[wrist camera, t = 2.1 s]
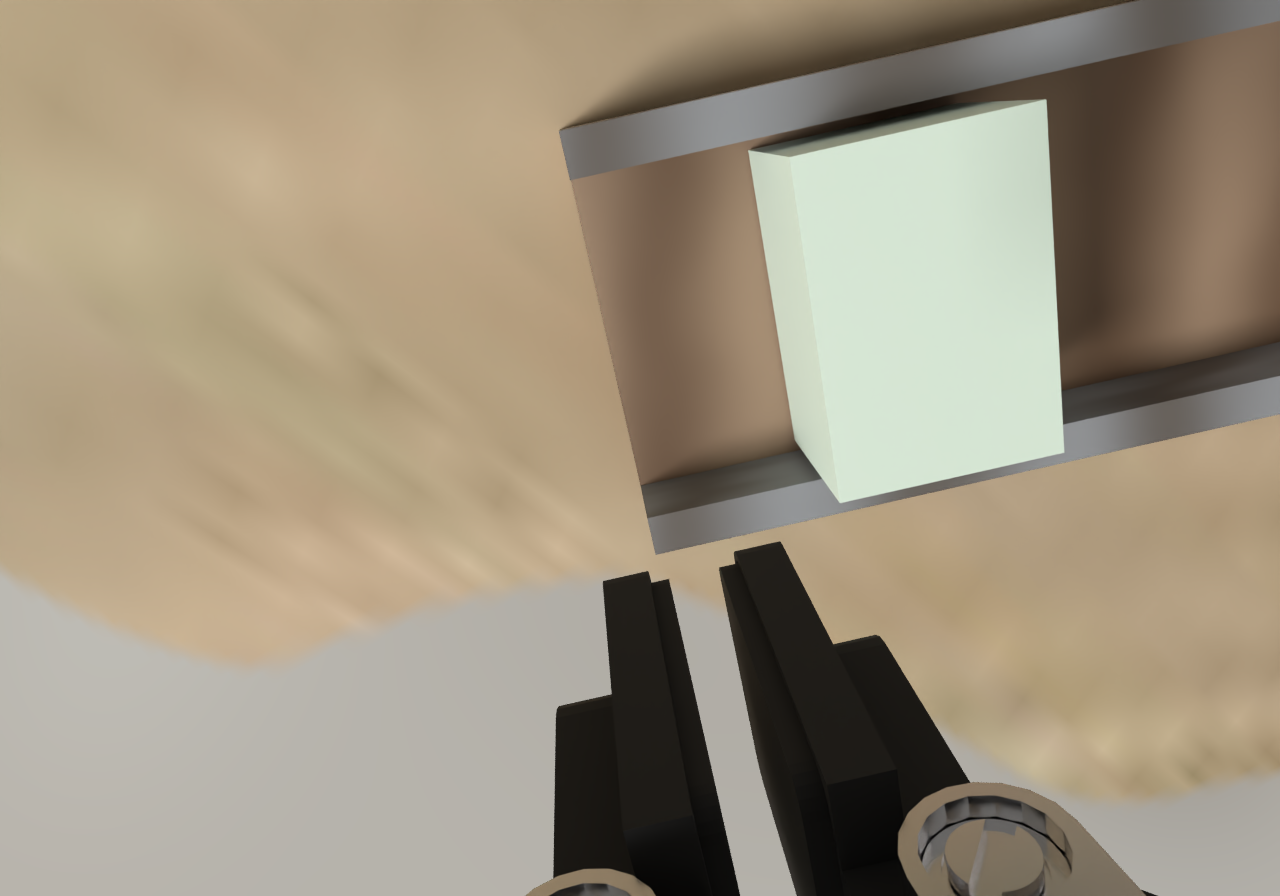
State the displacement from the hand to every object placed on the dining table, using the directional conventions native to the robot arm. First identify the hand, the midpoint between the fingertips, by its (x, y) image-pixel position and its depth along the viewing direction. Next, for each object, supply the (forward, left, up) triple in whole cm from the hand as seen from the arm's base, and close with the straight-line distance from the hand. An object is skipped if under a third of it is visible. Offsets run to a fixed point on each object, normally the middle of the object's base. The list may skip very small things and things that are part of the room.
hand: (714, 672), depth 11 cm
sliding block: (-8, 0, -17) cm, 19 cm away
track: (-16, 0, -19) cm, 25 cm away
